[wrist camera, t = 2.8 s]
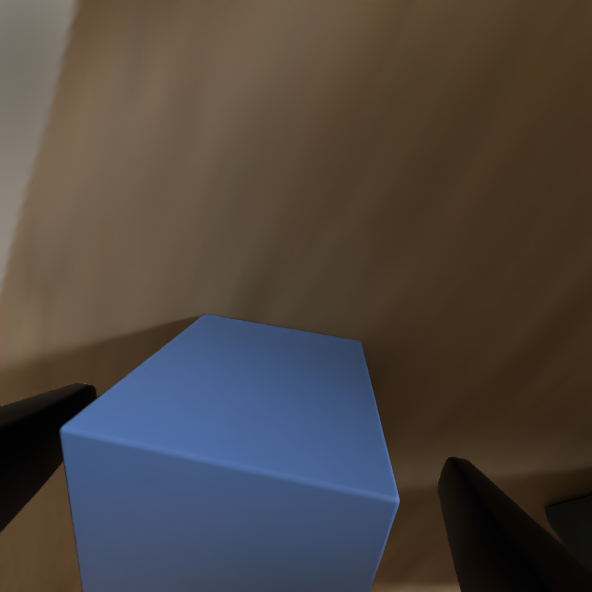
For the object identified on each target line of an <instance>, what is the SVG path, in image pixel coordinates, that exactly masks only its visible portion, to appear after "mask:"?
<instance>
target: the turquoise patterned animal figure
mask: <svg viewBox="0 0 592 592" xmlns="http://www.w3.org/2000/svg"><path fill="white" fill-rule="evenodd" d="M545 512H546V515H547V519H548V521H549V523H550V525H551V527H552V528H553V530H554V531H555V533H556V534H557V536H558V537H559V539H560V540H561V542H562V543H563V545H564V546H565V547H566V549H567V550H568V551H569V552H570V553H572V554H573V555H574V556H575V557H576V558H577V559H578V560H579V561H580V562H582V563H583V564H584V565H585V566H586V567H587V568H588V569H589V570H590V571H591V572H592V496H589V497H587V498H583V499H579V500H575V501H571V502H567V503H563V504H559V505H556V506H552V507H549V508H545Z"/></svg>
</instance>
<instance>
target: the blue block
mask: <svg viewBox="0 0 592 592" xmlns="http://www.w3.org/2000/svg"><path fill="white" fill-rule="evenodd" d="M59 434H60V441H61V448H62V455H63V462H64V469H65V475H66V482H67V489H68V496H69V503H70V510H71V517H72V524H73V531H74V538H75V545H76V552H77V559H78V566H79V573H80V580H81V587H82V592H370V591H371V588H372V585H373V582H374V579H375V576H376V573H377V570H378V567H379V563H380V560H381V557H382V554H383V551H384V548H385V545H386V542H387V539H388V536H389V533H390V530H391V527H392V524H393V521H394V518H395V515H396V512H397V509H398V506H399V502H400V500H399V495H398V491H397V487H396V483H395V479H394V475H393V471H392V467H391V462H390V458H389V454H388V450H387V446H386V442H385V438H384V434H383V430H382V426H381V421H380V417H379V413H378V409H377V405H376V401H375V397H374V393H373V389H372V385H371V380H370V376H369V372H368V368H367V364H366V360H365V356H364V352H363V348H362V344H361V342H360V341H357V340H351V339H345V338H340V337H334V336H328V335H322V334H317V333H311V332H305V331H299V330H293V329H288V328H282V327H276V326H270V325H265V324H259V323H253V322H247V321H242V320H236V319H230V318H224V317H218V316H213V315H207V314H205V315H203V316H202V317H200V318H199V319H198V320H196V321H195V322H194V323H193V324H191V325H190V326H189V327H188V328H186V329H185V330H184V331H182V332H181V333H180V334H179V335H177V336H176V337H175V338H173V339H172V340H171V341H170V342H168V343H167V344H166V345H165V346H163V347H162V348H161V349H159V350H158V351H157V352H156V353H154V354H153V355H152V356H150V357H149V358H148V359H147V360H145V361H144V362H143V363H142V364H140V365H139V366H138V367H136V368H135V369H134V370H133V371H131V372H130V373H129V374H127V375H126V376H125V377H124V378H122V379H121V380H120V381H119V382H117V383H116V384H115V385H113V386H112V387H111V388H110V389H108V390H107V391H106V392H105V393H103V394H102V395H101V396H99V397H98V398H97V399H96V400H94V401H93V402H92V403H90V404H89V405H88V406H87V407H85V408H84V409H83V410H82V411H80V412H79V413H78V414H76V415H75V416H74V417H73V418H71V419H70V420H69V421H67V422H66V423H65V424H64V425H62V427H61V428H60V430H59Z"/></svg>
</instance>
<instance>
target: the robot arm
mask: <svg viewBox="0 0 592 592" xmlns="http://www.w3.org/2000/svg"><path fill="white" fill-rule="evenodd" d="M96 399H97V392H96V388H95V387H94V386H93V385H90V384H85V383H74V384H71V385H68V386H65V387H61V388H58V389H55V390H52V391H49V392H45V393H42V394H39V395H36V396H33V397H29V398H26V399H23V400H20V401H16V402H13V403H10V404H7V405H4V406H0V533H1V532H2V531H3V530H4V529H5V527H6V526H7V525H8V524H9V523H10V522H11V521H12V520H13V519H14V518H15V516H16V515H17V514H18V513H19V512H20V511H21V510H22V509H23V508H24V506H25V505H26V504H27V503H28V502H29V501H30V500H31V499H32V498H33V497H34V495H35V494H36V493H37V492H38V491H39V490H40V489H41V488H42V487H43V485H44V484H45V483H46V482H47V481H48V480H49V478H50V477H51V476H52V475H53V473H54V472H55V471H56V470H57V469H58V467H59V466H60V465H61V463H62V462H63V455H62V448H61V441H60V434H59V430H60V428H61V427H62V425H64V424H65V423H66V422H67V421H69V420H70V419H71V418H73V417H74V416H75V415H76V414H78V413H79V412H80V411H82V410H83V409H84V408H85V407H87V406H88V405H89V404H90V403H92V402H93V401H94V400H96ZM438 495H439V500H440V505H441V509H442V514H443V518H444V523H445V527H446V532H447V536H448V541H449V545H450V550H451V555H452V559H453V563H454V567H455V571H456V575H457V579H458V582H459V586H460V589H461V592H592V572H591V571H590V570H589V569H588V568H587V567H586V566H585V565H584V564H583V563H582V562H580V561H579V560H578V559H577V558H576V557H575V556H574V555H573V554H572V553H570V552H569V551H568V550H567V549H566V548H565V547H564V546H563V545H562V544H561V543H559V542H558V541H557V540H556V539H555V538H554V537H553V536H552V535H551V534H549V533H548V532H547V531H546V530H545V529H544V528H543V527H542V526H541V525H540V524H538V523H537V522H536V521H535V520H534V519H533V518H532V517H531V516H530V515H528V514H527V513H526V512H525V511H524V510H523V509H522V508H521V507H520V506H519V505H517V504H516V503H515V502H514V501H513V500H512V499H511V498H510V497H509V496H507V495H506V494H505V493H504V492H503V491H502V490H501V489H500V488H499V487H498V486H496V485H495V484H494V483H493V482H492V481H491V480H490V479H489V478H488V477H486V476H485V475H484V474H483V473H482V472H481V471H480V470H479V469H478V468H476V467H475V466H474V465H473V464H472V463H471V462H470V461H468V460H466V459H463V458H457V457H452V456H451V457H448V458H447V459H446V461H445V464H444V467H443V469H442V472H441V475H440V477H439V480H438Z"/></svg>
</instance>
